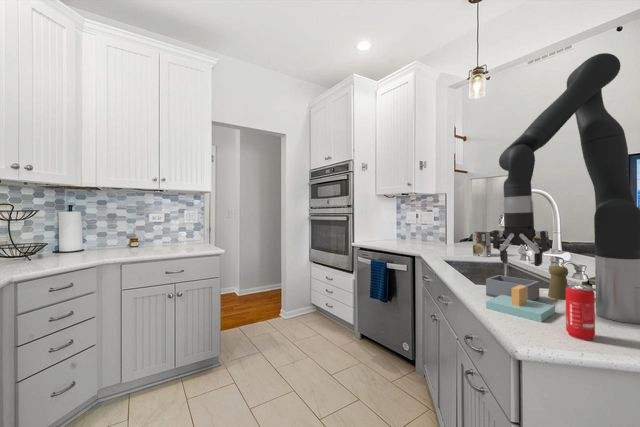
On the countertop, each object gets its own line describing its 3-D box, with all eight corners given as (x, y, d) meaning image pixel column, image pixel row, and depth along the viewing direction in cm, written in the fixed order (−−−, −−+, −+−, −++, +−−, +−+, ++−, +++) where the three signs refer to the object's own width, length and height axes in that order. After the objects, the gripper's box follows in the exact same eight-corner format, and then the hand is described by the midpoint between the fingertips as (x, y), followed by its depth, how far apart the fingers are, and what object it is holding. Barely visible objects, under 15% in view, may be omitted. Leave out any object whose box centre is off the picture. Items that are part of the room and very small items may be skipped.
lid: (555, 312, 84) (554, 289, 84) (541, 322, 78) (540, 296, 78) (502, 301, 96) (501, 280, 96) (486, 308, 90) (485, 285, 90)
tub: (539, 298, 98) (539, 281, 98) (528, 304, 92) (527, 286, 92) (498, 290, 108) (498, 274, 108) (486, 295, 103) (485, 278, 103)
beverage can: (572, 339, 67) (571, 289, 67) (562, 330, 72) (561, 283, 72) (600, 342, 65) (599, 291, 65) (588, 333, 70) (587, 285, 70)
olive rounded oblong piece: (574, 300, 95) (574, 268, 95) (554, 299, 97) (553, 267, 97) (563, 295, 101) (562, 264, 101) (544, 294, 103) (543, 264, 102)
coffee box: (491, 256, 188) (491, 231, 188) (486, 257, 184) (486, 232, 184) (477, 254, 196) (477, 231, 195) (472, 255, 192) (472, 231, 192)
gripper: (551, 210, 83) (553, 265, 83) (498, 212, 95) (500, 260, 94) (542, 210, 79) (545, 268, 78) (487, 212, 90) (490, 263, 90)
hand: (520, 264), depth 86 cm, fingers open, 8 cm apart
